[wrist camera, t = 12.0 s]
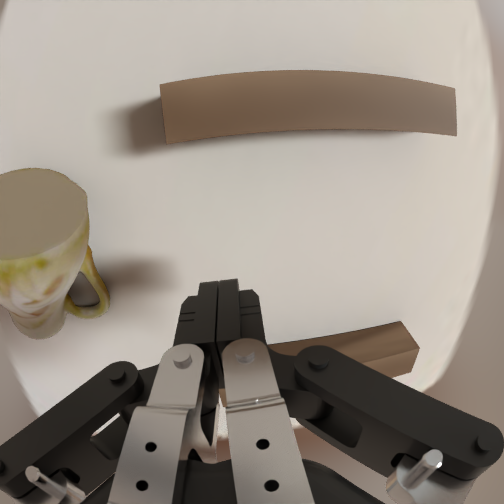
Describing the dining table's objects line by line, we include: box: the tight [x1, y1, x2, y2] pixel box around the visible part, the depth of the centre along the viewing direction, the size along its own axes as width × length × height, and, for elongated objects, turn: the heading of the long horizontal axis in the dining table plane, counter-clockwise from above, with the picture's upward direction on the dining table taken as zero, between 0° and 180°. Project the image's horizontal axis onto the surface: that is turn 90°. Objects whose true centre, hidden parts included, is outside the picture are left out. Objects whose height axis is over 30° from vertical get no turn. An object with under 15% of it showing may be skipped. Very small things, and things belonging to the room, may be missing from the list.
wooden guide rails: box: [160, 70, 457, 407], centre depth 15 cm, size 18×13×3 cm
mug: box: [0, 168, 110, 339], centre depth 12 cm, size 8×10×10 cm
